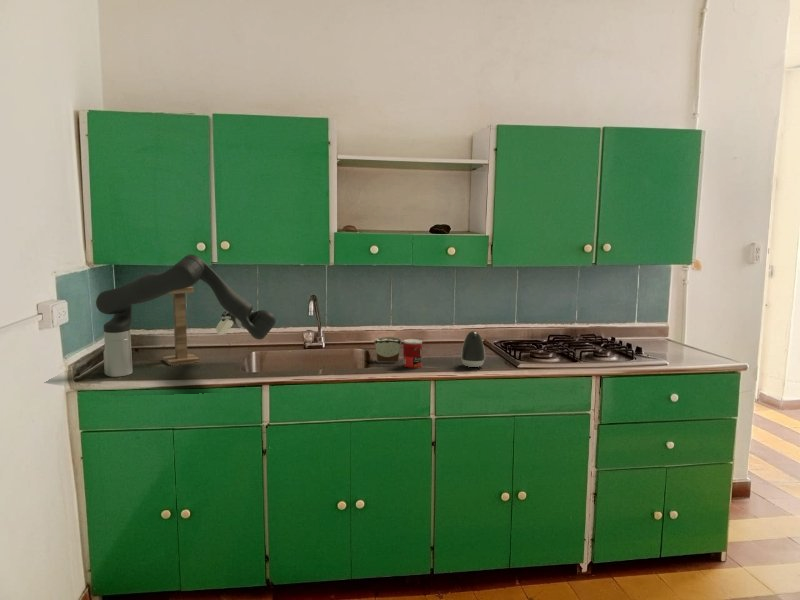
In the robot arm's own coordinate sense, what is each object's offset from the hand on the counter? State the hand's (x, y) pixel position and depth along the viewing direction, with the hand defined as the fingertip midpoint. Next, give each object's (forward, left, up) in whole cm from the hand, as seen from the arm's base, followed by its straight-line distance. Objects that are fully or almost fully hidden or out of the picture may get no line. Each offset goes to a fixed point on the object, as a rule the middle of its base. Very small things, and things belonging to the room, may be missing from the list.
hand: (230, 313), depth 232 cm
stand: (-27, -1, -23) cm, 35 cm away
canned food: (+66, +35, -23) cm, 78 cm away
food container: (+52, +40, -23) cm, 70 cm away
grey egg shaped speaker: (+89, +46, -23) cm, 103 cm away
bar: (-2, +1, -5) cm, 6 cm away
